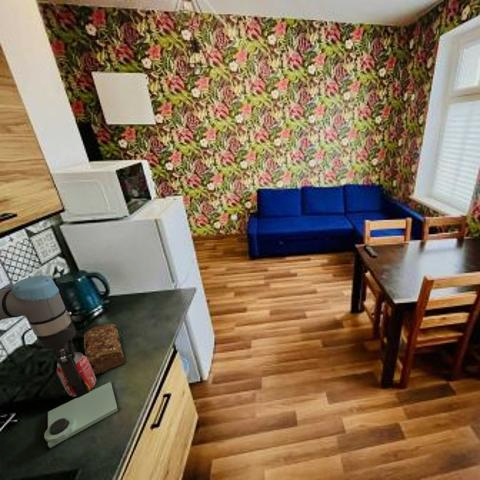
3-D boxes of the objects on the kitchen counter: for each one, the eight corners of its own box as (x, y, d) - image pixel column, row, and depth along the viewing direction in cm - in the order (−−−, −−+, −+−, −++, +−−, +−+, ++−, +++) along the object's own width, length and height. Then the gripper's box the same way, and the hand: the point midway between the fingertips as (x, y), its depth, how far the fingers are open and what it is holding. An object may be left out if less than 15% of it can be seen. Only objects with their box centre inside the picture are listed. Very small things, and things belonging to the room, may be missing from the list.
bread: (90, 348, 109) (81, 329, 105) (121, 336, 115) (114, 318, 112) (91, 378, 96) (82, 358, 92) (127, 363, 102) (119, 343, 98)
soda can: (63, 394, 81) (47, 365, 77) (88, 375, 88) (75, 348, 83) (78, 402, 79) (63, 372, 75) (102, 382, 85) (90, 354, 81)
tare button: (51, 437, 75) (49, 433, 75) (51, 427, 78) (49, 423, 77) (68, 428, 78) (66, 424, 77) (68, 419, 80) (66, 415, 79)
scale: (48, 451, 75) (44, 444, 73) (48, 415, 84) (44, 409, 83) (118, 412, 85) (115, 406, 84) (111, 384, 94) (109, 378, 93)
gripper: (74, 340, 70) (101, 400, 79) (70, 306, 83) (93, 360, 92) (34, 356, 65) (67, 417, 74) (36, 316, 78) (64, 373, 87)
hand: (82, 386), depth 83 cm, fingers closed on soda can, 7 cm apart
